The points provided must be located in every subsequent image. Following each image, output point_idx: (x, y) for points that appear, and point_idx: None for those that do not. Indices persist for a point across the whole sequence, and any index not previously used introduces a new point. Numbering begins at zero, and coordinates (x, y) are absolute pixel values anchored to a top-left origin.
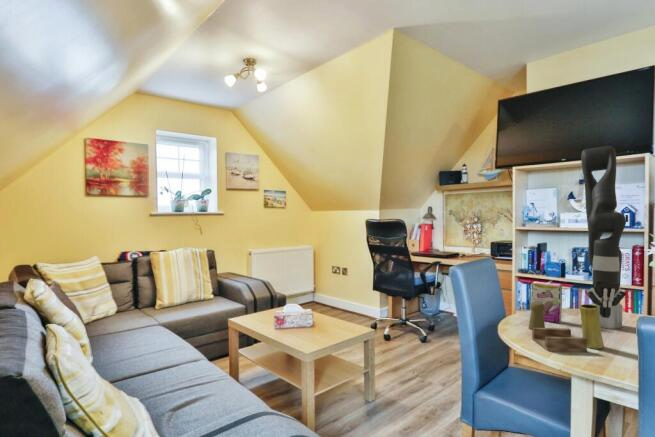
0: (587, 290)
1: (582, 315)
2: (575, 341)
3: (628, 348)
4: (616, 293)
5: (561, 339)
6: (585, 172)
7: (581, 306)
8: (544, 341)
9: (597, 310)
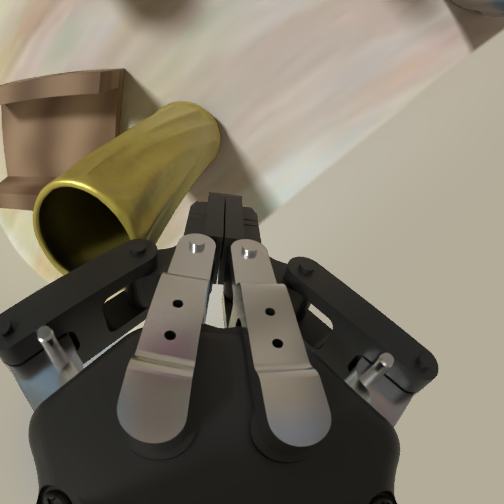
0: (3, 360)
1: (70, 201)
2: None
3: (315, 167)
4: (350, 385)
5: (25, 206)
6: None
7: (51, 189)
8: (16, 129)
9: None
